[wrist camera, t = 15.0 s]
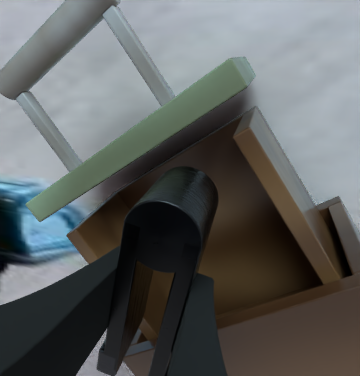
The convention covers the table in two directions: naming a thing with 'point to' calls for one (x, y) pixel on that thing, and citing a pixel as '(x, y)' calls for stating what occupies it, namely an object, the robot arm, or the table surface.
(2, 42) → the table surface
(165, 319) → the tongs
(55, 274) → the table surface
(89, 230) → the drawer
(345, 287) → the cabinet
